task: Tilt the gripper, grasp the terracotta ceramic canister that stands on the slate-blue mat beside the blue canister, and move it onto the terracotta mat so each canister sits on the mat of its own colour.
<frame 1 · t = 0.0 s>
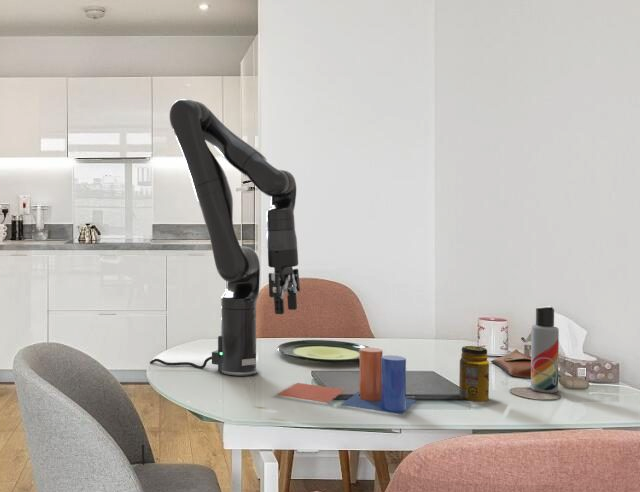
hand: (286, 311, 182), 17 cm above the table, tool pointing down, fingers open, 8 cm apart
plate: (326, 357, 208), on the table
terracotta canister: (370, 398, 162), point 1 cm above the table, touching blue mat
condiment: (471, 402, 161), on the table
blue canister: (393, 408, 153), point 1 cm above the table, touching blue mat
blue mat: (378, 404, 158), on the table
lotion bottle: (544, 390, 171), on the table
sunglasses case: (516, 371, 191), on the table
terracotta mat: (311, 394, 167), on the table
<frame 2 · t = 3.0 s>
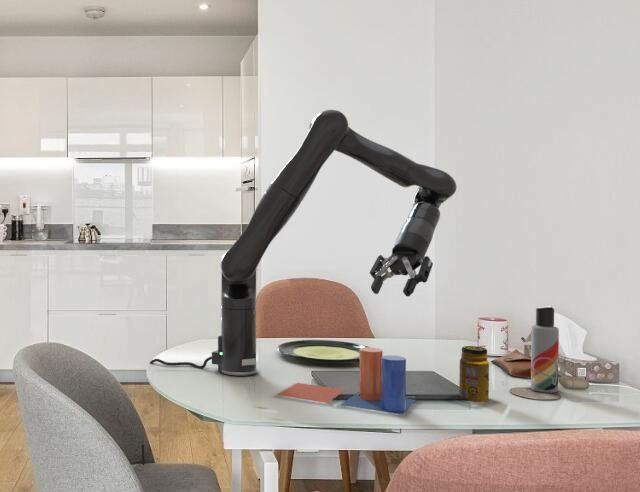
hand: (389, 293, 169), 23 cm above the table, tool tilted 40°, fingers open, 8 cm apart
nothing on the table moved.
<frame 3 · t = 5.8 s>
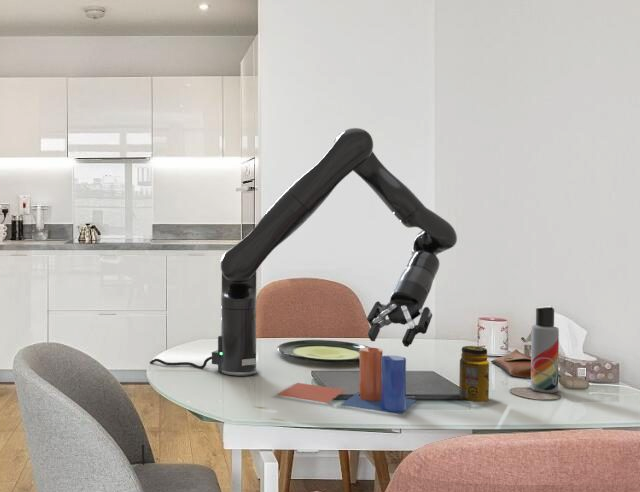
hand: (387, 341, 167), 12 cm above the table, tool tilted 45°, fingers open, 8 cm apart
nothing on the table moved.
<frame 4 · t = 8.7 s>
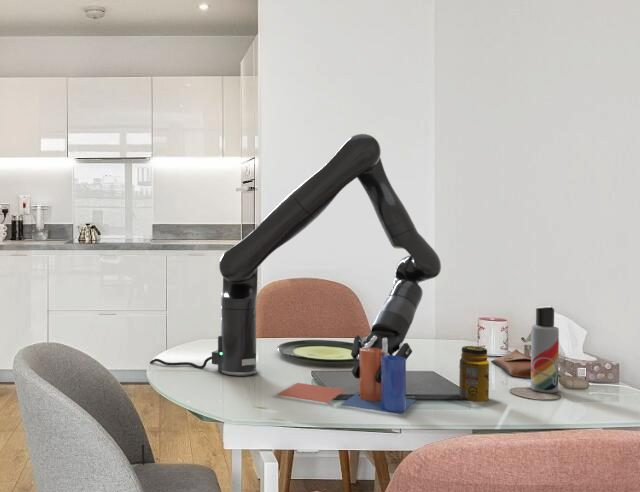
hand: (366, 378, 161), 5 cm above the table, tool tilted 45°, fingers closed on terracotta canister, 5 cm apart
terracotta canister: (370, 398, 162), point 1 cm above the table, touching blue mat, gripper
everything else where it was.
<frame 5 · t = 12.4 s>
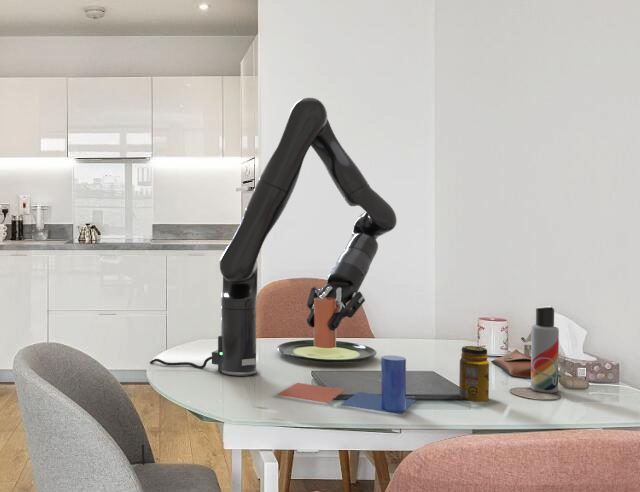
hand: (320, 326, 164), 16 cm above the table, tool tilted 45°, fingers closed on terracotta canister, 5 cm apart
terracotta canister: (324, 346, 166), point 12 cm above the table, touching gripper
everything else where it was.
when the fingers open (5 cm above the table, at t = 16.2 s): terracotta canister stays where it is, resting on terracotta mat.
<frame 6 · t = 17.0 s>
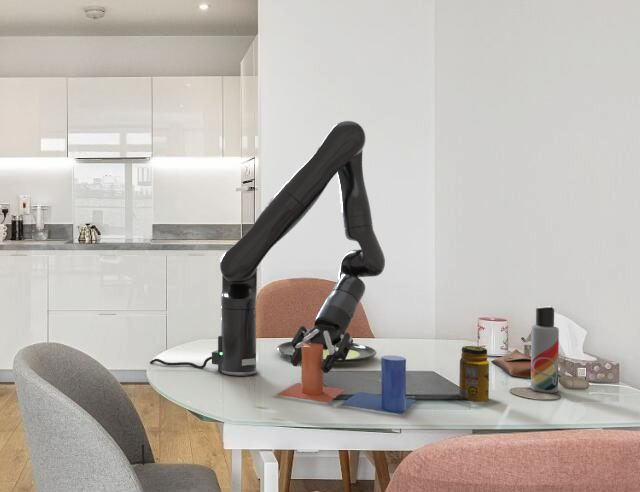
hand: (308, 367, 166), 7 cm above the table, tool tilted 45°, fingers open, 8 cm apart
terracotta canister: (312, 392, 167), point 1 cm above the table, touching terracotta mat
everything else where it was.
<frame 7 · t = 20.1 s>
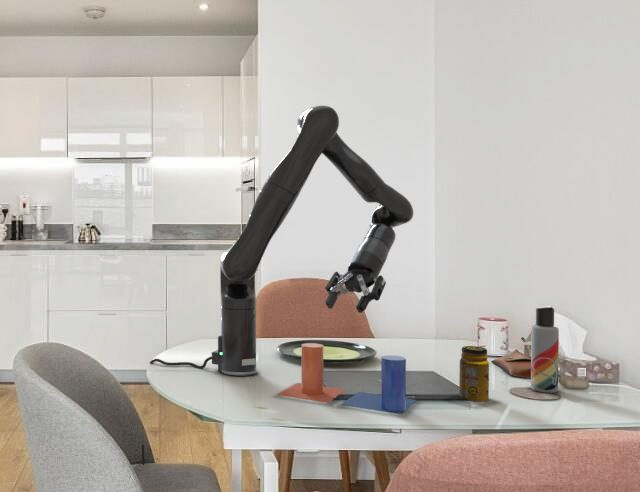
hand: (343, 308, 175), 19 cm above the table, tool tilted 45°, fingers open, 8 cm apart
nothing on the table moved.
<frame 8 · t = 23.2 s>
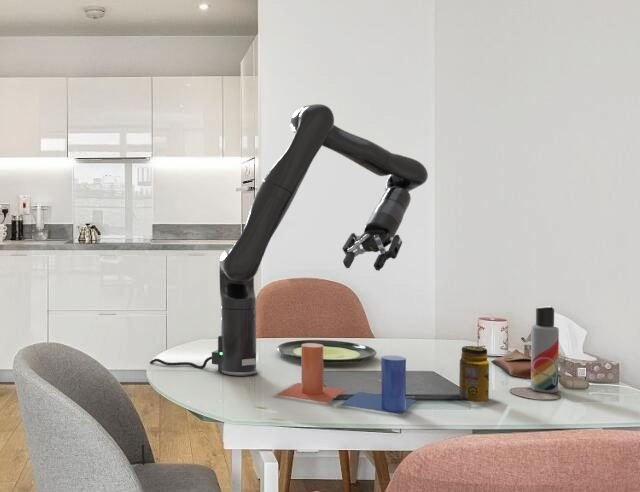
hand: (360, 267, 180), 29 cm above the table, tool tilted 45°, fingers open, 8 cm apart
nothing on the table moved.
at the end: terracotta canister inside the target area on the terracotta mat (0.1 cm from its centre), point 0.6 cm above the terracotta mat's base; terracotta canister tilted 0°; blue canister 5.3 cm from the blue mat (horizontally) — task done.
